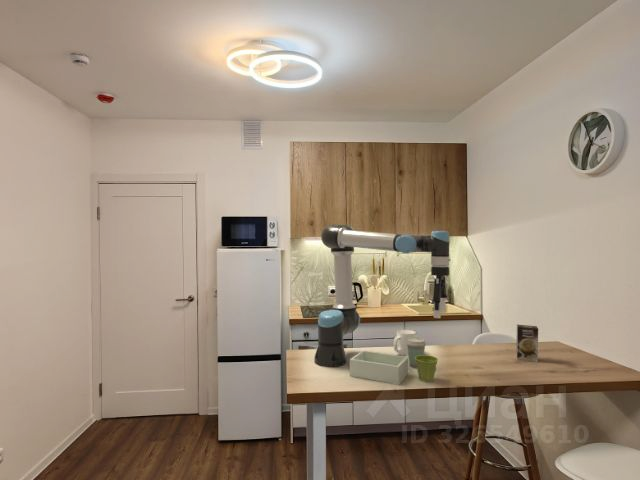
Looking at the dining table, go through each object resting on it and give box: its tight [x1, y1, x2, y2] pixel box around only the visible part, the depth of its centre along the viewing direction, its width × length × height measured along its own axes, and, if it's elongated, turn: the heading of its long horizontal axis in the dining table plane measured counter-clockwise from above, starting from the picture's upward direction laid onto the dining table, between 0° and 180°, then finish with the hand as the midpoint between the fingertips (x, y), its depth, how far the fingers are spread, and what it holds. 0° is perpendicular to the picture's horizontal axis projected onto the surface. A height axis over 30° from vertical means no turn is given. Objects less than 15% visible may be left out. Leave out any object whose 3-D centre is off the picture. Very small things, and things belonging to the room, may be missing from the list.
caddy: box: [349, 350, 409, 385], centre depth 171 cm, size 21×15×7 cm
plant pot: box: [415, 354, 439, 382], centre depth 166 cm, size 9×9×9 cm
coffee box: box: [515, 324, 539, 363], centre depth 195 cm, size 9×6×16 cm
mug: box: [392, 329, 418, 356], centre depth 203 cm, size 14×10×11 cm
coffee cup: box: [407, 337, 426, 369], centre depth 183 cm, size 8×8×12 cm
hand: (439, 315), depth 175 cm, fingers open, 13 cm apart
